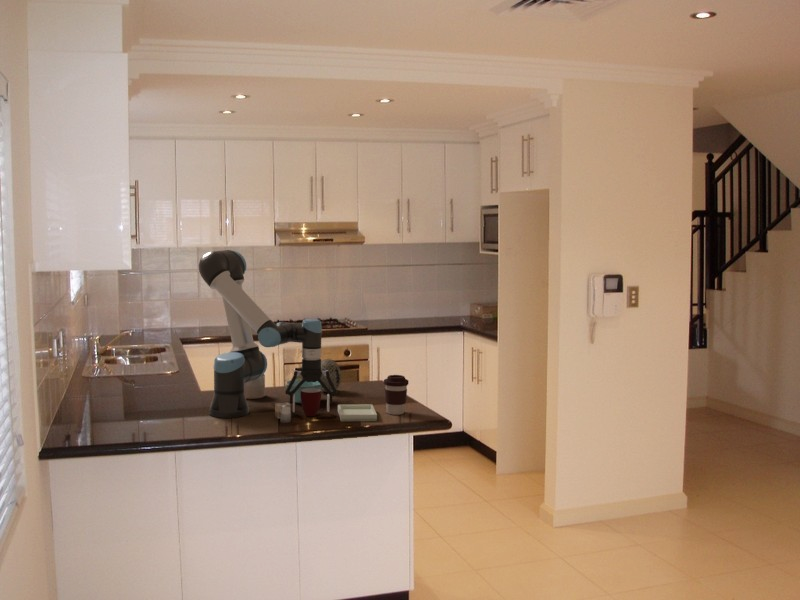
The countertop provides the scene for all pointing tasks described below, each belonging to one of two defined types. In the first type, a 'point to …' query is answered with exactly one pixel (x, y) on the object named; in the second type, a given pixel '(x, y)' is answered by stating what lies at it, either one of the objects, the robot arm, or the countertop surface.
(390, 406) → the coffee cup
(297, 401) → the bowl
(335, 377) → the decorative egg
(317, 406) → the mug
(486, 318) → the countertop surface
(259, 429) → the countertop surface
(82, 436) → the countertop surface
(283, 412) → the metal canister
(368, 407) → the tray
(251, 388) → the planter
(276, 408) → the white marbled cube
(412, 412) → the countertop surface
